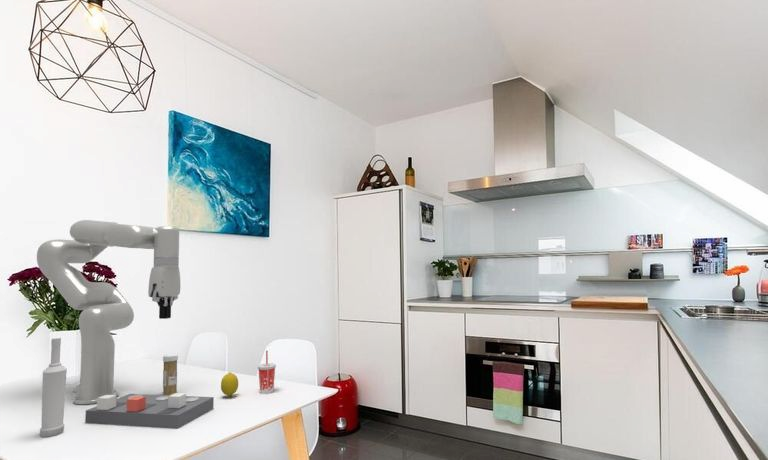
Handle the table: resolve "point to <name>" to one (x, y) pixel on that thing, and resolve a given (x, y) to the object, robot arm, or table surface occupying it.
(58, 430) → the bottle
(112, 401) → the left switch
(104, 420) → the switch panel
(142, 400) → the red switch
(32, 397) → the table surface
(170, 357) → the sprinkles bottle
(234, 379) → the lemon
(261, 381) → the beverage cup
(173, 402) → the right switch
